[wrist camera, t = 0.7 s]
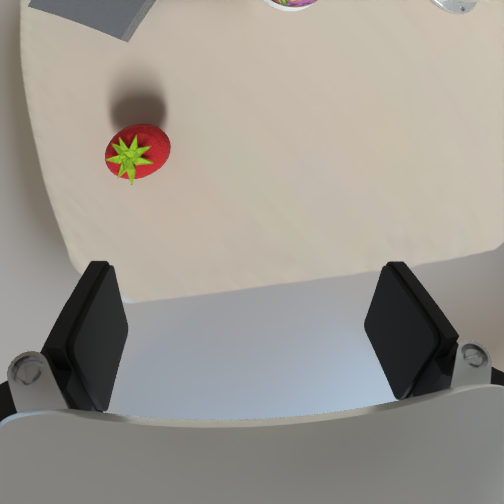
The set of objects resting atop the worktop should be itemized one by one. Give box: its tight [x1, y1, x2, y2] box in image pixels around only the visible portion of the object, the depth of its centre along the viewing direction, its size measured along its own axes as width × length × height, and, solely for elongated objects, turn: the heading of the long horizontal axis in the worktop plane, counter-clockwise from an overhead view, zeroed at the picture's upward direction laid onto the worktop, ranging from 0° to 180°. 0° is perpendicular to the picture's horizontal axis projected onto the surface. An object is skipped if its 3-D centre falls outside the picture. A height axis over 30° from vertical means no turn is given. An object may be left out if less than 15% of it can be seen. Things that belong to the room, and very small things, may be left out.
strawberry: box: [105, 124, 171, 185], centre depth 31 cm, size 6×8×10 cm
